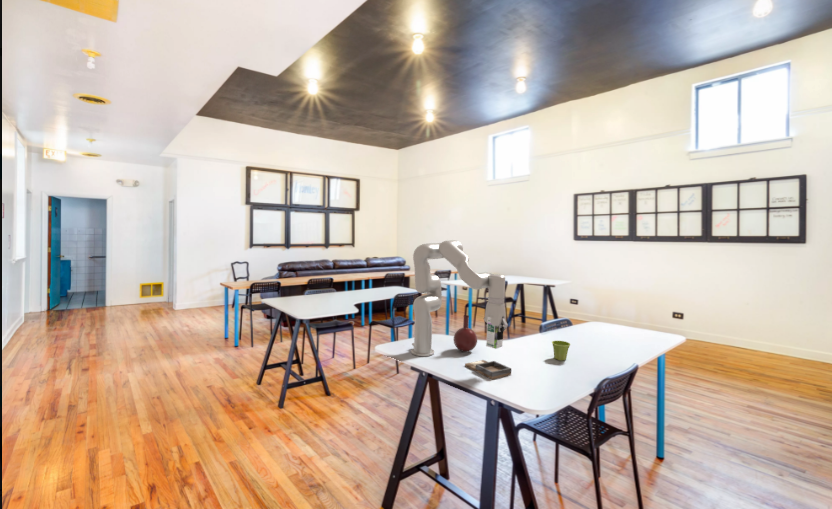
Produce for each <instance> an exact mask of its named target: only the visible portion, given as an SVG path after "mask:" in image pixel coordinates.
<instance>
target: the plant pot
mask: <svg viewBox="0 0 832 509" xmlns="http://www.w3.org/2000/svg"><path fill="white" fill-rule="evenodd" d="M551 343H552V348H553V358H554V360H557V361H565V360H567V356H568V353H569V352H568V351H569V348H570V346H571V343H570V342H568V341H565V340H552V341H551Z"/></svg>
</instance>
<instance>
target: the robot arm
mask: <svg viewBox="0 0 832 509" xmlns="http://www.w3.org/2000/svg"><path fill="white" fill-rule="evenodd" d="M463 250H464V247H463V244H462V243H461V242H460V241H458V240H453V239H452V240H444V241H442V242H437V243H436V242H433V243H432V242H431V243H423V244H420V245H418V246H417V247H416V248H415V249H414V251H413V254H412V256H413V257H412V259H413V265H414V285H415V286H414V287H415V290H416V292H418V293H419V294H422V295H420V296H418V297H416V298H415V299H414V301H413V303H412V306H413V313H414V335H413V337H414V339H413V343H411V345H412V346H413V348H412V349H411V350H410V354H412V356H417V357H429V356H433V355H434V354H435V351H434V349H433V348H432V343H433V341H432V340H433V319H432V318H433V317H432V315H431V313H432V312H435V311H438V310H439V309H440V308H441V307H442V303H443V300H442V298H443V296H442V295H443V294H442V283H441V279H440V277H439V276H438V275H436V274H433V273H431V266H430V263H429V261H428V260H438V259H445V260H446V261H447V262H449V263H450V264H451V265H452V266H453V267H454V268H455V269H456V270H457V274H458V276H459V278H460V279H461V280H462V281H463V282H464V283H465V284H466V285H467V286H468V287H469V288H471V289H473V290H477V291H478V290H482V289H487V288H488V296H487V302H486V306H485V311H484V317H483V321H484V324H485V327H486V328H487V319H488V317H490V318H491V320H490V321H491V324H492V325H495V326H498V332H497V340H502V339H504V332H505V331H506V329H507V328H508V326H509V324H508V323H507V321H506V319H507V318H506V317H507V316H506V315H507V314H506V312H507V311H506V304H505V294H506V293H505V292H506V277H505V275H504V274H495V273H492V272H486V271H485V272H479V273H478V272H476V271H474V270H473V269H472V268H471V267H470V266H469V261H470V258H469V256H468V254H466V253H465V252H464V251H463ZM500 324H501V325H500ZM500 326H501V329H500Z"/></svg>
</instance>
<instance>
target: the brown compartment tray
mask: <svg viewBox="0 0 832 509" xmlns="http://www.w3.org/2000/svg"><path fill="white" fill-rule="evenodd" d="M464 364H465V365H464V367H466V368H468V369H470V370H472V371H474V372H476V373H479V374H480V375H483V376H484V377H486V378H488V377H489V379H491V380H495V379H499V378H503V377H504V376H505V377H509V376H511V375H512V368H511V367H509V366H506V365H505V364H502V363H500V362H499V361H498V362H497V361H495V360H492V361H486V360H484V359H482V360H476V361H472V362H467V363H464ZM508 375H509V376H508Z"/></svg>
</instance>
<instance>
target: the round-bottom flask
mask: <svg viewBox="0 0 832 509" xmlns="http://www.w3.org/2000/svg"><path fill="white" fill-rule="evenodd" d="M469 317H470V315H468V314H467V315H463V327H461V328H459V329H457V330H456V331H455V333H454V334H453V335H454V336H453V344H454V346H455V348H456V349H458V350H459V351H461V352H464V353H466V352H471V351H473V350H475V347H476V346H477V343H478V336H477V333H476V332H475V331H474V330H473V329H472V328H469V320H470V319H469Z"/></svg>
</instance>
